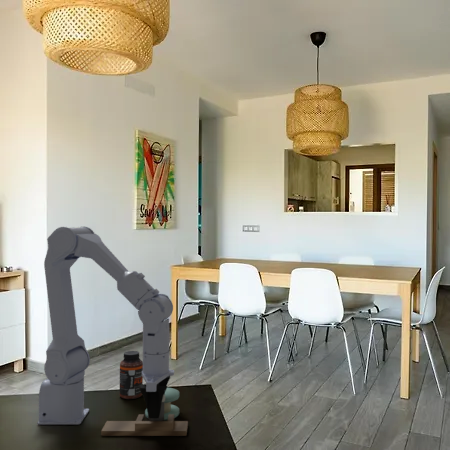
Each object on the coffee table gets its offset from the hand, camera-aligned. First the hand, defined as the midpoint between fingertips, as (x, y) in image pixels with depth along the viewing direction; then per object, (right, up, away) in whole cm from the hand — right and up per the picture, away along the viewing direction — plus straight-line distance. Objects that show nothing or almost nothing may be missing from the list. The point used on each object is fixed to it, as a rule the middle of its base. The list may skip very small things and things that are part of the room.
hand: (155, 413), depth 103 cm
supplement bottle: (-9, -4, +19) cm, 22 cm away
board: (-2, -3, -1) cm, 4 cm away
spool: (0, -3, +8) cm, 9 cm away
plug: (0, -2, 0) cm, 2 cm away
